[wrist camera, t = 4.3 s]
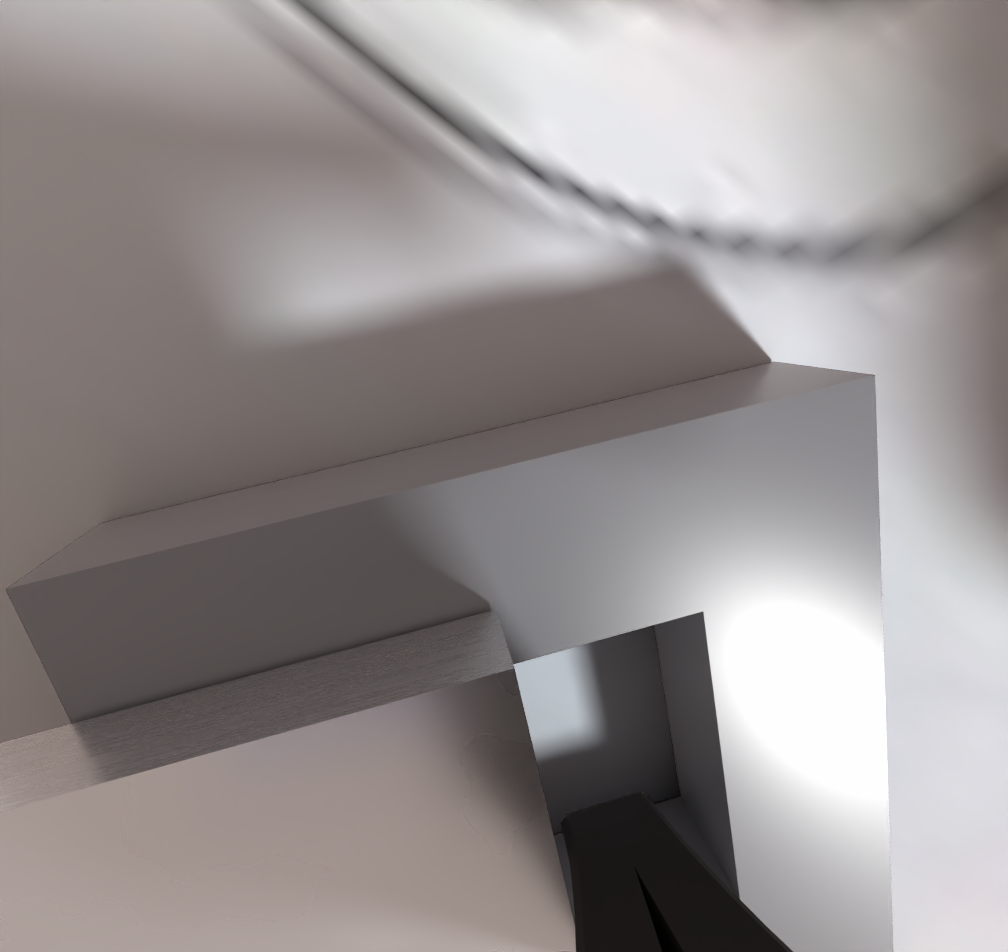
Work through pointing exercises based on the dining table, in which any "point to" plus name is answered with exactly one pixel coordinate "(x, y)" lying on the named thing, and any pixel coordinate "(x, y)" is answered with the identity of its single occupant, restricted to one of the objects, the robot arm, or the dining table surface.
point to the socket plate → (567, 603)
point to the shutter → (293, 813)
